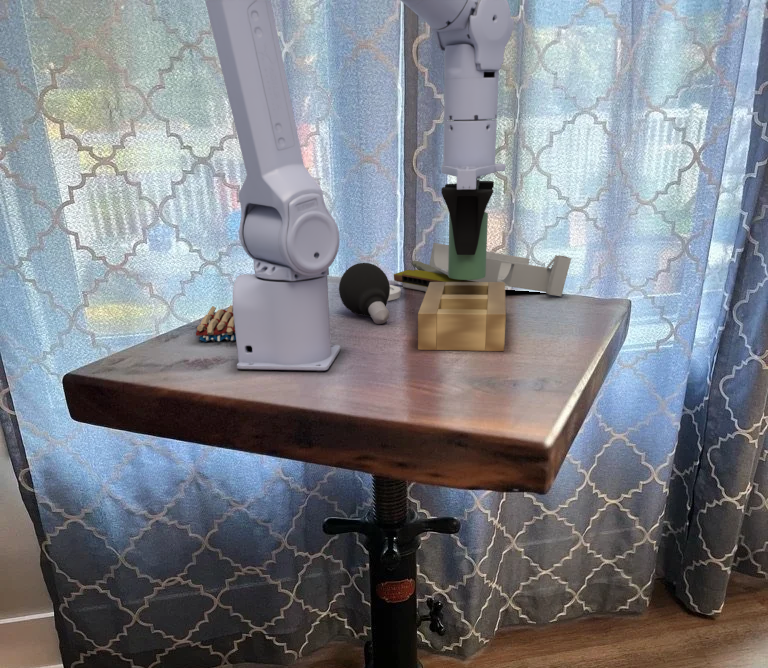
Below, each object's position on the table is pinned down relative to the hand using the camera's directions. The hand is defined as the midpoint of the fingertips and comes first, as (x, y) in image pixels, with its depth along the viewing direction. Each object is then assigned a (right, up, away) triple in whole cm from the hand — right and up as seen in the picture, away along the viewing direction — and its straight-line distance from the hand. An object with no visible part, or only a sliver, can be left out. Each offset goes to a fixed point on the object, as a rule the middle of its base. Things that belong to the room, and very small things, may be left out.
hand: (466, 250), depth 91 cm
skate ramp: (+6, +2, +19) cm, 20 cm away
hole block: (0, -9, +1) cm, 9 cm away
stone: (-4, +6, +28) cm, 29 cm away
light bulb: (-11, -6, +8) cm, 15 cm away
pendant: (-12, +2, +19) cm, 23 cm away
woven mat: (-26, -7, +2) cm, 27 cm away
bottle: (0, -3, +1) cm, 3 cm away
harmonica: (-2, +3, +19) cm, 20 cm away
